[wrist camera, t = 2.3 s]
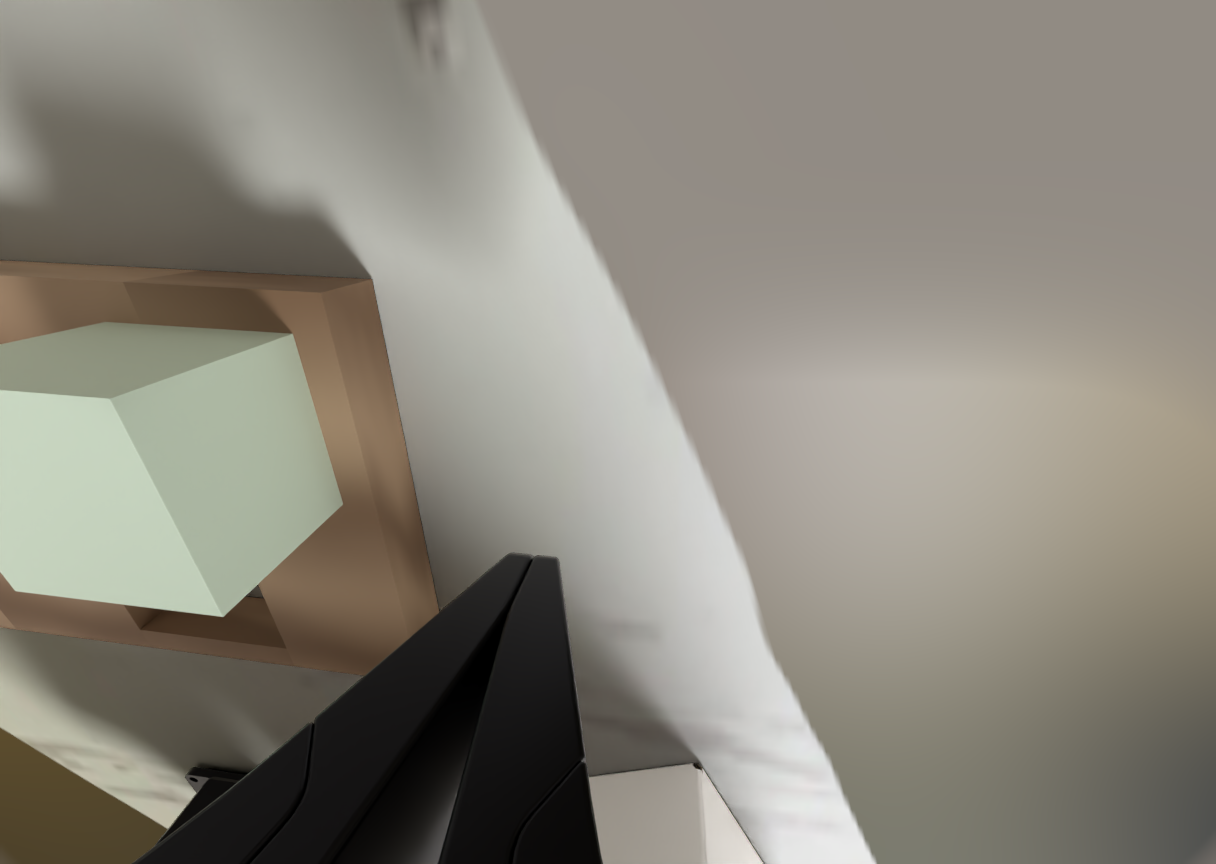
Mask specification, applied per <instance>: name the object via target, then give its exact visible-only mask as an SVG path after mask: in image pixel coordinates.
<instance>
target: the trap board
mask: <svg viewBox="0 0 1216 864" xmlns="http://www.w3.org/2000/svg"><path fill="white" fill-rule="evenodd" d="M102 322H115V323H131V324H147V325H162V326H178V327H194V328H210V329H226V330H241V331H257V332H273V333H289V334H293V336H294V340H295V343H296V346H297V350H298V353H299V357H300V360H301V363H302V367H303V370H304V373H305V377H306V380H307V384H308V387H309V390H310V394H311V397H312V401H313V404H314V407H315V411H316V414H317V417H318V421H319V424H320V428H321V431H322V434H323V438H324V441H325V444H326V448H327V451H328V455H329V458H330V461H331V465H332V468H333V472H334V475H335V478H336V482H337V485H338V488H339V492H340V495H341V499H342V502H343V505H342V506H341V507H340V508H339V509H338V510H337V511H335V512H334V513H333V514H332V515H331V516H330V517H329V518H328V519H327V520H326V521H325V522H324V523H323V524H322V525H321V526H320V527H318V528H317V529H316V530H315V531H314V532H313V533H312V534H311V535H310V536H309V537H308V538H307V539H306V540H305V541H304V542H302V543H301V544H300V545H299V546H298V547H297V548H296V549H295V550H294V551H293V552H292V553H291V554H290V555H289V556H288V557H287V558H285V559H284V560H283V561H282V562H281V563H280V564H279V565H278V566H277V567H276V568H275V569H274V570H273V571H272V572H271V573H269V574H268V575H267V576H266V577H265V578H264V579H263V580H262V581H261V582H260V583H259V584H258V586H259V588H260V590H261V592H262V595H263V597H264V599H263V598H254V597H246V596H245V597H244V598H243V599H242V600H241V601H240V602H239V603H238V604H237V605H235V606H234V607H233V608H232V609H231V610H230V611H229V612H228V613H227V614H226V615H225V616H224V617H219V616H211V615H203V614H195V613H187V612H179V611H171V610H163V609H155V608H147V607H139V606H131V605H123V604H115V603H107V602H99V601H91V600H83V599H74V598H66V597H58V596H50V595H42V594H34V593H26V592H18V591H15V590H14V589H13V587H12V586H11V585H10V584H9V582H8V581H7V580H6V579H5V577H4V576H3V575H2V574H1V572H0V627H2V628H9V629H17V630H24V631H32V632H39V633H47V634H54V635H62V636H69V637H77V638H85V639H92V640H100V641H107V642H115V643H122V644H130V645H137V646H145V647H152V648H160V649H167V650H175V651H182V652H190V653H198V654H205V655H213V656H220V657H228V658H235V659H243V660H250V661H258V662H265V663H273V664H280V665H288V666H296V667H303V668H311V669H318V670H326V671H333V672H341V673H348V674H356V675H363V676H365V675H366V674H367V673H368V672H370V671H371V670H372V669H373V668H374V667H375V666H377V665H378V664H379V663H380V662H381V661H383V660H384V659H385V658H386V657H387V656H388V655H390V654H391V653H392V652H393V651H394V650H395V649H397V648H398V647H399V646H400V645H401V644H403V643H404V642H405V641H406V640H407V639H408V638H410V637H411V636H412V635H413V634H414V633H415V632H417V631H418V630H419V629H420V628H421V627H423V626H424V625H425V624H426V623H427V622H428V621H430V620H431V619H432V618H433V617H434V616H435V615H437V614H438V613H439V608H438V603H437V598H436V593H435V588H434V583H433V578H432V573H431V568H430V564H429V559H428V554H427V549H426V544H425V539H424V534H423V529H422V524H421V519H420V514H419V509H418V504H417V499H416V494H415V489H414V485H413V480H412V475H411V470H410V465H409V460H408V455H407V450H406V445H405V440H404V435H403V430H402V425H401V420H400V415H399V410H398V406H397V401H396V396H395V391H394V386H393V381H392V376H391V371H390V366H389V361H388V356H387V351H386V346H385V341H384V336H383V331H382V327H381V322H380V317H379V312H378V307H377V302H376V297H375V292H374V287H373V282H372V279H358V278H339V277H319V276H299V275H280V274H260V273H241V272H221V271H202V270H182V269H162V268H143V267H123V266H104V265H84V264H64V263H45V262H25V261H6V260H0V344H5V343H10V342H14V341H19V340H24V339H28V338H33V337H38V336H42V335H47V334H51V333H56V332H61V331H65V330H70V329H75V328H79V327H84V326H89V325H93V324H98V323H102Z"/></svg>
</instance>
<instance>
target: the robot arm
mask: <svg viewBox="0 0 1216 864" xmlns="http://www.w3.org/2000/svg"><path fill="white" fill-rule="evenodd" d="M185 778H186V779H187V781H188V782H189V783H190V785H191V786H192V787H193V789H194V790H195V791H196V794H195V796H194V797H193V798H192V800H191V801H190V802H189V803H188V805H187V806H186V807H185V808H184V810H183V811H182V812H181V813H180V815H179V816H178V817H177V818H176V820H175V821H174V822H173V823H172V825H171V826H170V827H169V829H168V830H167V831H166V832H165V834H164V835H163V836H162V837H161V839H160V840H159V841H158V842H157V844H156V845H155V846H154V847H153V848H152V849H151V850H149V851H148V852H146V853H145V854H144V855H142V856H141V857H140V858H138V859H137V860H136V861H134V862H133V863H132V864H603V861H602V856H601V851H600V845H599V839H598V833H597V827H596V821H595V815H594V809H593V803H592V797H591V789H590V782H589V775H588V767H587V764H586V755H585V747H584V740H583V733H582V725H581V718H580V710H579V703H578V696H577V688H576V681H575V673H574V666H573V659H572V651H571V644H570V636H569V629H568V622H567V614H566V607H565V599H564V592H563V585H562V577H561V570H560V563H559V559H558V558H557V557H551V556H541V555H537V556H535V557H533V556H532V555H530V554H522V553H509V554H507V555H506V556H505V557H504V558H502V559H501V560H500V561H499V562H498V563H497V564H495V565H494V566H493V567H492V568H491V569H490V570H488V571H487V572H486V573H485V574H484V575H482V576H481V577H480V578H479V579H478V580H477V581H475V582H474V583H473V584H472V585H471V586H470V587H468V588H467V589H466V590H465V591H464V592H462V593H461V594H460V595H459V596H458V597H457V598H455V599H454V600H453V601H452V602H451V603H450V604H448V605H447V606H446V607H445V608H444V609H443V610H441V611H440V612H439V613H438V614H437V615H435V616H434V617H433V618H432V619H431V620H430V621H428V622H427V623H426V624H425V625H424V626H423V627H421V628H420V629H419V630H418V631H417V632H415V633H414V634H413V635H412V636H411V637H410V638H408V639H407V640H406V641H405V642H404V643H403V644H401V645H400V646H399V647H398V648H397V649H395V650H394V651H393V652H392V653H391V654H390V655H388V656H387V657H386V658H385V659H384V660H383V661H381V662H380V663H379V664H378V665H377V666H375V667H374V668H373V669H372V670H371V671H370V672H368V673H367V674H366V675H365V676H364V677H363V678H361V679H360V680H359V681H358V682H357V683H356V684H354V685H353V686H352V687H351V688H350V689H348V690H347V691H346V692H345V693H344V694H343V695H341V696H340V697H339V698H338V699H337V700H336V701H334V702H333V703H332V704H331V705H330V706H328V707H327V708H326V709H325V710H324V711H323V712H321V713H320V714H319V715H318V716H317V717H316V718H315V721H314V723H308V724H307V725H306V726H305V727H303V728H302V729H301V730H300V731H299V732H298V733H296V734H295V735H294V736H293V737H292V738H291V739H289V740H288V741H287V742H286V743H285V744H283V745H282V746H281V747H280V748H279V749H278V750H276V751H275V752H274V753H273V754H271V755H270V756H269V757H268V758H267V759H265V760H264V761H263V762H262V763H260V764H259V765H258V766H257V767H256V768H254V769H253V770H252V771H251V772H249V773H248V774H247V775H243V774H236V773H230V772H224V771H217V770H211V769H205V768H198V767H193V768H192V769H191V770H190V771H189V772H188V773H187V775H186V776H185Z"/></svg>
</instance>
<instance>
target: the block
mask: <svg viewBox="0 0 1216 864" xmlns="http://www.w3.org/2000/svg"><path fill="white" fill-rule="evenodd" d="M342 505H343V502H342V499H341V495H340V492H339V488H338V485H337V482H336V478H335V475H334V472H333V468H332V465H331V461H330V458H329V455H328V451H327V448H326V444H325V441H324V438H323V434H322V431H321V428H320V424H319V421H318V417H317V414H316V411H315V407H314V404H313V401H312V397H311V394H310V390H309V387H308V384H307V380H306V377H305V373H304V370H303V367H302V363H301V360H300V357H299V353H298V350H297V346H296V343H295V340H294V336H293V334H289V333H273V332H257V331H241V330H226V329H210V328H194V327H178V326H162V325H147V324H131V323H115V322H102V323H98V324H93V325H89V326H84V327H79V328H75V329H70V330H65V331H61V332H56V333H51V334H47V335H42V336H38V337H33V338H28V339H24V340H19V341H14V342H10V343H5V344H0V572H1V574H2V575H3V576H4V577H5V579H6V580H7V581H8V582H9V584H10V585H11V586H12V587H13V589H14V590H15V591H18V592H26V593H34V594H42V595H50V596H58V597H66V598H74V599H83V600H91V601H99V602H107V603H115V604H123V605H131V606H139V607H147V608H155V609H163V610H171V611H179V612H187V613H195V614H203V615H211V616H219V617H224V616H225V615H226V614H227V613H228V612H229V611H230V610H231V609H232V608H233V607H234V606H235V605H237V604H238V603H239V602H240V601H241V600H242V599H243V598H244V597H245V596H246V595H247V594H248V593H249V592H250V591H251V590H252V589H254V588H255V587H256V586H257V585H258V584H259V583H260V582H261V581H262V580H263V579H264V578H265V577H266V576H267V575H268V574H269V573H271V572H272V571H273V570H274V569H275V568H276V567H277V566H278V565H279V564H280V563H281V562H282V561H283V560H284V559H285V558H287V557H288V556H289V555H290V554H291V553H292V552H293V551H294V550H295V549H296V548H297V547H298V546H299V545H300V544H301V543H302V542H304V541H305V540H306V539H307V538H308V537H309V536H310V535H311V534H312V533H313V532H314V531H315V530H316V529H317V528H318V527H320V526H321V525H322V524H323V523H324V522H325V521H326V520H327V519H328V518H329V517H330V516H331V515H332V514H333V513H334V512H335V511H337V510H338V509H339V508H340V507H341V506H342Z"/></svg>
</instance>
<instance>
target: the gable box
mask: <svg viewBox="0 0 1216 864" xmlns="http://www.w3.org/2000/svg"><path fill="white" fill-rule="evenodd" d="M589 782H590V789H591V797H592V803H593V809H594V815H595V821H596V827H597V833H598V839H599V845H600V851H601V856H602V861H603V864H763V862H762V861H761V859H760V857H759V856H758V854H757V853H756V851H755V850H754V848H753V846H752V845H751V843H750V842H749V840H748V839H747V837H746V836H745V834H744V832H743V831H742V829H741V828H740V826H739V825H738V823H737V821H736V820H735V818H734V817H733V815H732V814H731V812H730V811H729V809H728V807H727V806H726V804H725V803H724V801H723V800H722V798H721V796H720V795H719V793H718V792H717V790H716V789H715V787H714V785H713V784H712V782H711V781H710V779H709V778H708V776H707V775H706V773H705V771H704V770H703V768H702V767H701V766H700V765H699V764H697V765H696V766H695V767H694V763H689V764H681V765H674V766H666V767H659V768H651V769H644V770H636V771H628V772H621V773H613V774H606V775H598V776H591V777H589Z"/></svg>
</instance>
